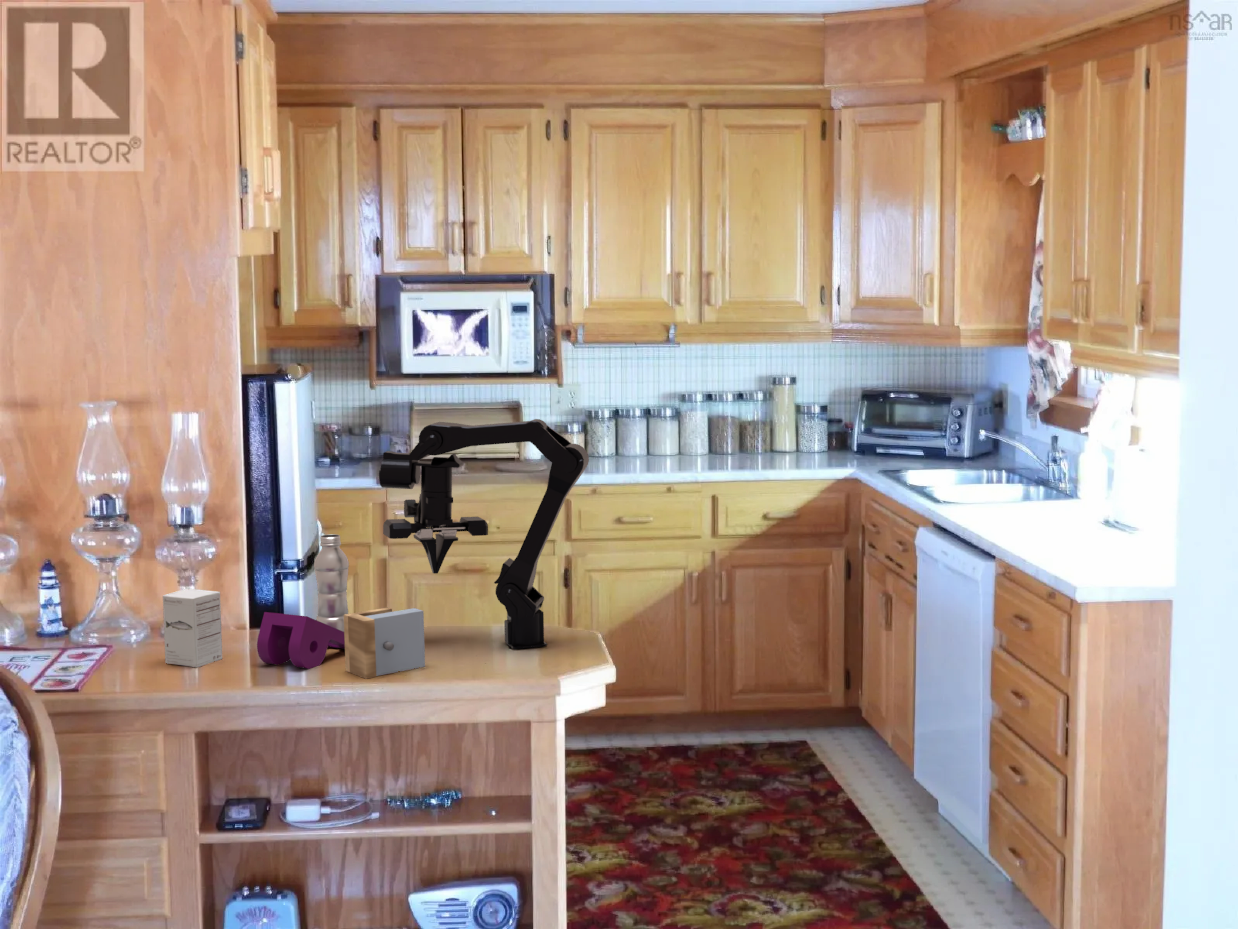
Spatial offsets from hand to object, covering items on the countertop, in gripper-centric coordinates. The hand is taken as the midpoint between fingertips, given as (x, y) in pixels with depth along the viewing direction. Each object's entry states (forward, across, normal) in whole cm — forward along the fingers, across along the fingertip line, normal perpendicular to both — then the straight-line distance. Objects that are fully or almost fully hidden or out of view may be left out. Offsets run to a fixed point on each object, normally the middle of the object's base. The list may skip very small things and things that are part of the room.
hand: (435, 573), depth 276 cm
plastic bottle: (+14, +16, -12) cm, 25 cm away
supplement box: (+15, +43, -5) cm, 46 cm away
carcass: (+14, +14, +16) cm, 25 cm away
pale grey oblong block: (+14, +11, +16) cm, 24 cm away
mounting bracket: (+15, +23, +1) cm, 27 cm away
